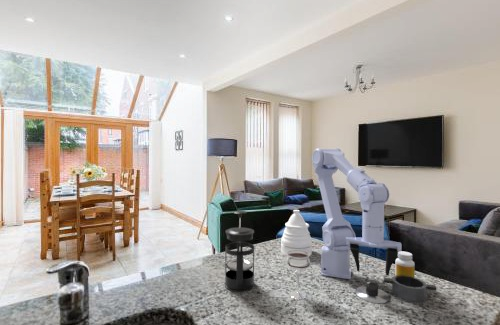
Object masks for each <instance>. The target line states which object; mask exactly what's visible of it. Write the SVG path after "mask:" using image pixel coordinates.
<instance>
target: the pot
mask: <svg viewBox="0 0 500 325" xmlns="http://www.w3.org/2000/svg"><path fill="white" fill-rule="evenodd" d="M383 283H384V284H390V285H391V293H392V295H393V296H394V297H396V298H397V299H398V300H399V299H400V300H401V301H404V302H407V303H411V304H412V303H413V304H423V303H425V302H426V301H428V299H427V298H428V290H429V291H434V292H437V286H436V285H435V284H427V283H426V282H425V281H423V280H422V279H420V278H418V277H415V276H414V277H411V276H405V275H395V274H394V276H392V277H391V278H388V277H383Z"/></svg>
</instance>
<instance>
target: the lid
mask: <svg viewBox="0 0 500 325" xmlns="http://www.w3.org/2000/svg"><path fill="white" fill-rule="evenodd" d="M354 292H355V296H356V297H358V298H359V299H360V300H362V301H365V302H368V303H371V304H385V303H387V302H389V301H390V296H389V294H388V293H387V292H386V291H384V290H383V289H380V288H379V282H378V281H376V280H374V279H367V280H366V281H365V286H359V287H357V288H355V290H354Z"/></svg>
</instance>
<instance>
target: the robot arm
mask: <svg viewBox="0 0 500 325" xmlns="http://www.w3.org/2000/svg"><path fill="white" fill-rule="evenodd" d="M311 162H312V166H313V171H314V173H315V174H316V178H317V182H318V187H319V191H320V194H321V201H322V204H323V208H324V211H325V216H326V219H327V221H326V222H325V223H324V224H323V226H321V228H322V229H321V230H322V241H323V244H324V245H322V246H321V254H320V258H321V260H320V275H321V276H326V277H334V278H338V279H339V278H340V279H345V280H346V279H347V280H351V279H352V278H351V276H352V269H351V254H352V257H353V259H354V262H355V267H356V271H357V272H360V247H367V248H377V249H384V250H385V261H386V262H385V275H386V276H388V277H389V276H390V270H391V269H392V268H391V267H392V266H393V262H395V260H396V259H397V258H398V252H399V251H402V246H403V245H402V243H401V241H400V242H399V241H398V242H397V241H393V240H387V239H384V238H385V237H384V236H385V203H387V202H388V200H389V198H390V191H389V188H388V187H387V185H386V184H385V183H381V182H377V181H375V179H374V178H371V177H370V176H369V175H368V174H367V173H366V171H365V170H364V169H363V168H355V167H354V165H353V164H351V162H350V161H349V160H348V159H347V158H346V157H345V152H344V151H342V150H341V149H340V148H318V147H317V148H315V149H314V150H313V152H312V156H311ZM337 171H340V172H342V173H343V174H344V175H345V176H346V182H347V183H348V184H349V185H350V186H351V187H352V188H353V189H354V190H355V191H356V192H357V196H358V200H359V203H360V208H361V209H362V214H361V216H362V218H361V219H362V220H361V221H362V224H361V226H362V228H361V230H362V232H361V234H362V237H361V236H360V237H356V233H355V231H354V229H353V228H352V225H351V223H350V222H349V221H348V220H346V219H345V218H344V217H343V213H342V210H341V206H340V203H339V198H338V194H337V190H336V188H335V183H334V180H333V175H334V174H336V173H337Z"/></svg>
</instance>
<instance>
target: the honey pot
mask: <svg viewBox="0 0 500 325" xmlns="http://www.w3.org/2000/svg"><path fill="white" fill-rule="evenodd" d="M292 212H293V213H292V214H291V215H290V217H289V219H288V221H287V222H285V224H284V225H285V228H284V230H283V234H282V236H281V239H280V241H281V245H280V252H281V254H283V255H285V256H286V257H288V255H287V252H288V251H291V250H302V251H306V252H308V253H309V254H310V256H312V254H313V240H312V238H311V235H310V234H311V233H310V231H309V227H310V224H309V223H307V222H306V221H305V219H304V217H303V215H302V214H301V213H300V210H299V209H293V211H292Z"/></svg>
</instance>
